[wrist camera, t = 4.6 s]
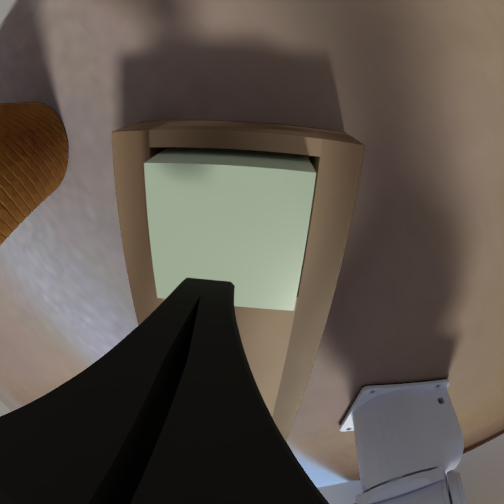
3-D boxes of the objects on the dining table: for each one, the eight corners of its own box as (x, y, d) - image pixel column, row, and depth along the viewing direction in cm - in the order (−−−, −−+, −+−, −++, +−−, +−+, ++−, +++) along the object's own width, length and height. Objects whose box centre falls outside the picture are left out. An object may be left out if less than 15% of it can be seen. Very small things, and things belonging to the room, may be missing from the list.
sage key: (306, 154, 13) (316, 172, 10) (290, 272, 16) (293, 310, 13) (169, 146, 13) (143, 162, 10) (174, 262, 16) (157, 297, 13)
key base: (344, 132, 14) (365, 145, 11) (280, 426, 27) (280, 456, 24) (143, 121, 14) (111, 132, 11) (181, 417, 27) (175, 445, 24)
